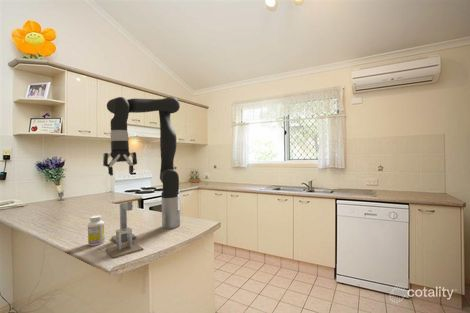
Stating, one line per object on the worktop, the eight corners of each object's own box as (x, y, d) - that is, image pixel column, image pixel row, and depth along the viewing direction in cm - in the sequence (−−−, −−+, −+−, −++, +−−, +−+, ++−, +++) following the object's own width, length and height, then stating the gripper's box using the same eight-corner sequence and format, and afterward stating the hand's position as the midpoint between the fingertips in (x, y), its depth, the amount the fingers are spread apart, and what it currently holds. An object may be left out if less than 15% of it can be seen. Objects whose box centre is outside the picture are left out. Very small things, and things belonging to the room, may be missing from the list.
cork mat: (134, 242, 108) (134, 241, 108) (143, 249, 99) (143, 248, 99) (105, 249, 100) (105, 248, 100) (112, 258, 91) (112, 256, 91)
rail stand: (130, 234, 120) (129, 196, 120) (140, 242, 108) (139, 200, 108) (111, 238, 114) (110, 199, 114) (120, 247, 102) (119, 203, 102)
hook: (129, 245, 103) (128, 227, 103) (132, 247, 100) (131, 229, 100) (116, 248, 99) (115, 230, 99) (119, 251, 96) (118, 232, 96)
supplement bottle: (98, 240, 112) (97, 214, 112) (107, 241, 110) (107, 215, 110) (84, 245, 106) (84, 217, 106) (94, 247, 104) (93, 218, 104)
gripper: (132, 141, 115) (133, 173, 115) (100, 140, 105) (102, 175, 105) (138, 140, 110) (139, 173, 110) (105, 139, 100) (106, 176, 100)
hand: (121, 174), depth 107 cm, fingers open, 8 cm apart
